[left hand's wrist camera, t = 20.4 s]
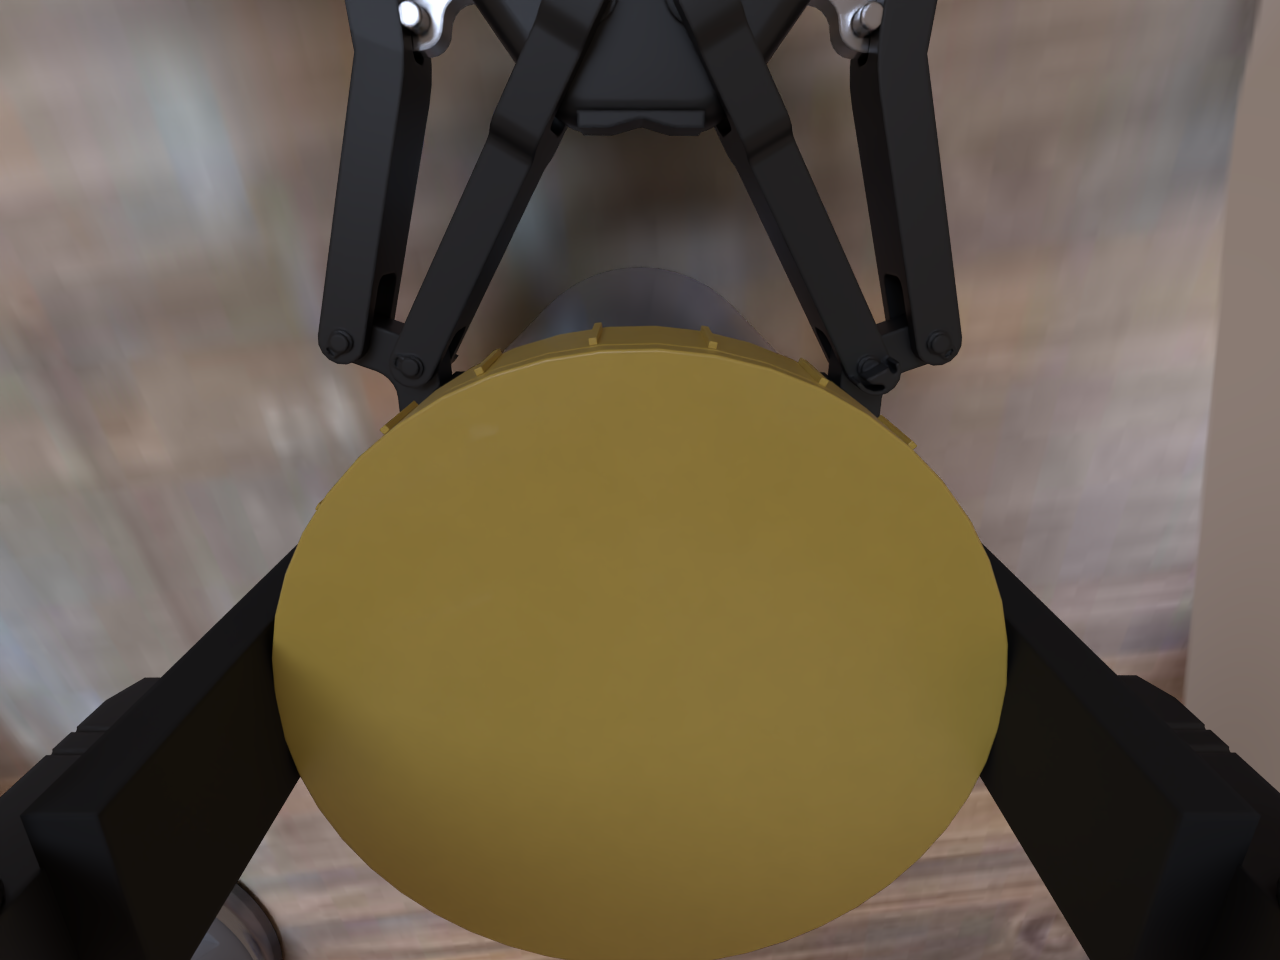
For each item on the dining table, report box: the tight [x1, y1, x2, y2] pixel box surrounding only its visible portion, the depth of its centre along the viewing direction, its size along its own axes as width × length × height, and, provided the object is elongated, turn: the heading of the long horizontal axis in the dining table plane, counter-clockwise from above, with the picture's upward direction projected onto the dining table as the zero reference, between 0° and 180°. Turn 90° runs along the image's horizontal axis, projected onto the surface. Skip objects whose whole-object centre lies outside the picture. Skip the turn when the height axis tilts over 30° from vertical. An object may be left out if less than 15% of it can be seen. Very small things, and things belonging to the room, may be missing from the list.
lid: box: [272, 322, 1008, 960], centre depth 11 cm, size 11×11×2 cm
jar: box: [502, 267, 778, 354], centre depth 20 cm, size 10×10×18 cm
